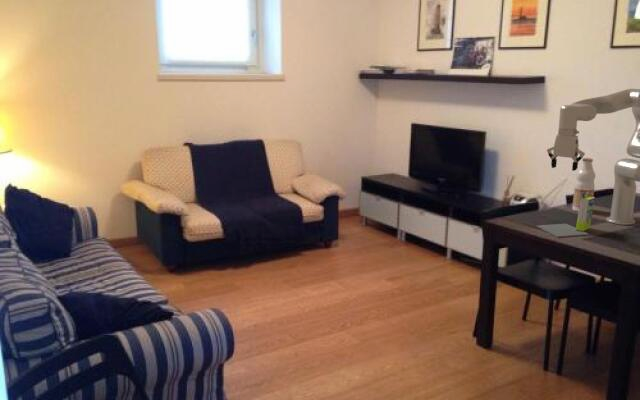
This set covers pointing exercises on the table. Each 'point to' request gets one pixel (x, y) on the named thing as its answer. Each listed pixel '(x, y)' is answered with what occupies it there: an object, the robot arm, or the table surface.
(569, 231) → the mat
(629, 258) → the table surface
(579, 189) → the fruit juice
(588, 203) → the box
